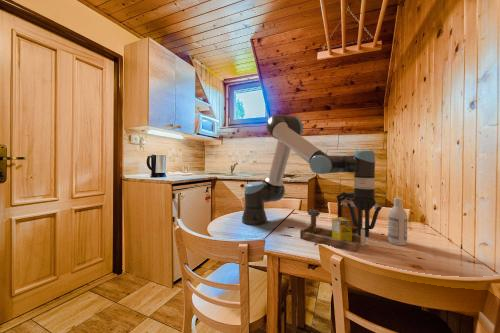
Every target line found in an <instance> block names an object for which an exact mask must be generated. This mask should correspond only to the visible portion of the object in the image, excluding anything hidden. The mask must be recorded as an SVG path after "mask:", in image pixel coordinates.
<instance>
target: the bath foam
mask: <svg viewBox="0 0 500 333" xmlns="http://www.w3.org/2000/svg"><path fill="white" fill-rule="evenodd" d="M387 220H388V221H387V222H388V223H387V240H388V242H389V243H390V244H392V245H396V246H406V245H407V244H408V220H409V219H408V214H407V212H406V211H405V209H404V207H403V198H402V197H394V198H393V206H392V207H391V209H390V210H389V212H388V219H387Z"/></svg>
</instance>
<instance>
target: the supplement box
mask: <svg viewBox="0 0 500 333" xmlns="http://www.w3.org/2000/svg"><path fill="white" fill-rule="evenodd" d="M331 228H332V229H331V230H332V237H331V238H334V239H338V240H343V241H347V242H352V234H353V232H352V220H349V219H347V218H344V217H338V216H337V217H332V218H331ZM352 243H353V242H352Z"/></svg>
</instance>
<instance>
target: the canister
mask: <svg viewBox="0 0 500 333" xmlns="http://www.w3.org/2000/svg"><path fill="white" fill-rule="evenodd" d="M335 197H336V199H337V217H344V218H347V219H349V220H352V217H351V213H350V209H349V207H348V206H347V203H349V202H352V201H353V199H354V192H345V191H343V192H342V193H340V194H338V195H336V196H335ZM353 207H354V210H355V214H356V218H357V222H358V208H357V207H356V206H355V204H354V206H353ZM352 233H358V227H356V226H354V225H353V221H352Z"/></svg>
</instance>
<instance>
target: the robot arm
mask: <svg viewBox="0 0 500 333" xmlns="http://www.w3.org/2000/svg"><path fill="white" fill-rule="evenodd" d="M266 130H267V132H268V134H269V135H270V136H271V137H272V138H274V139H275V140H277V142H276V145H275V146H276V147H275V151H274V155H273V159H272V162H271V166H270V170H269V174H268V177H266V178H265V179H264V182H263V181H253V182H249V183H247V184H245V186H244V190H243V191H244V209H243V210H244V211H243V213H242V216H241V222H242V223H243V224H245V225H250V226H258V225H264V224H267V222H268V217H267V213H266V211H265V203H270V202H277V201H280V200H282V199H283V198H284V196H285V194H286V187H285V186H284V182H283V178H284V174H285V171H286V167H287V164H288V160H289V157H290V153H291V150H292V151H293V152H294V153H295V154H296V155H298V156H299V157H300V158H301V159H303V160H304V161H305V162H307V163H308V164H309V168H310V170H311V172H312V173H314V174H319V175H326V174H335V173H336V174H340V173H345V174H346V173H347V174H349V173H350V174H351V173H352V174H354V175H353V176H354V177H353V180H354V181H353V186H354V189H353V193H354V199H353V201H352V202H349V203H347V206H348V207H349V209H350V213H351V217H352V221H353V225H354V226H356V227H358V232H357V234H358V236H361V244H360V245H361V246H366V244H367V238H369V236H370V230H373V229H374V228H375V226H376V222H377V220H378V217H379V213H380V211H381V210H382V209H383V207H382V205H379V204H378V203H377V201H376V200H375V197H376V196H375V192H376V191H375V186H376V184H375V183H376V178H375V177H376V176H375V174H376V173H375V172H376V170H375V169H376V156H375V155H376V154H375V151H374V150H370V149H369V150H367V149H366V150H365V149H364V150H355V151H354V154H353V155H328V154H327V153H326V152H323V150H321V149H320V148H318V147H317V146H315V144H313V143H311V142H310V141H309V140H307V139H305V138H304V137H303V136H302V134H303V133H304V132H303V131H304V123H303V122H302V120H301V119H300V118H299V117H296V116H293V115H285V114H278V113H277V114H273V115H271V116H270V117H269V118H268V120H267V122H266ZM354 204H355V206H356V207H357V208H358V222H357V218H356V214H355V210H354V207H353V206H354ZM373 207H374V209H373ZM372 209H373V210H374V213H373V216H372V218H371V221H370V214H371V213H370V212H371V210H372ZM363 212H364V215H363ZM363 216H364V219H363ZM363 220H364V223H363ZM363 224H364V227H363Z"/></svg>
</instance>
